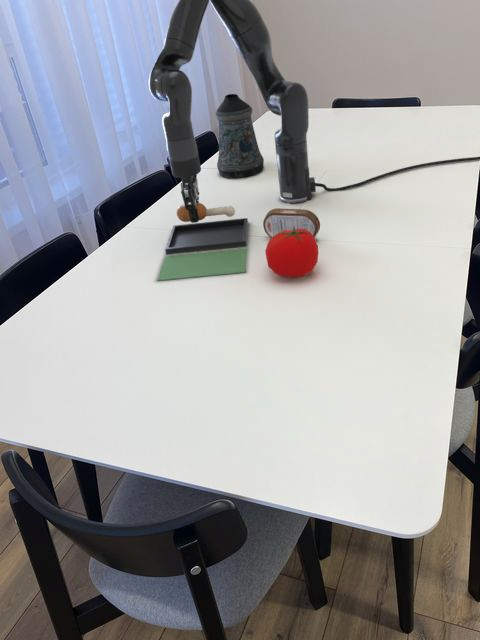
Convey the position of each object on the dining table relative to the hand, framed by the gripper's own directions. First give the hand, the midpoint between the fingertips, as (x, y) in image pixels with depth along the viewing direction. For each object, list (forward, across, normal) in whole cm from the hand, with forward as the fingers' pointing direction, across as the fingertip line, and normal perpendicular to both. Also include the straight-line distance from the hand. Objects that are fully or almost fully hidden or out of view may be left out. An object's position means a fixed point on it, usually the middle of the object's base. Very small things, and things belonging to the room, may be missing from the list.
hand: (195, 217), depth 156 cm
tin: (+7, -6, -25) cm, 27 cm away
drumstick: (+1, 0, -3) cm, 3 cm away
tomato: (+7, -24, -25) cm, 36 cm away
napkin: (+6, -16, -2) cm, 17 cm away
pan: (+7, 0, -2) cm, 7 cm away
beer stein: (+7, +56, -9) cm, 57 cm away
